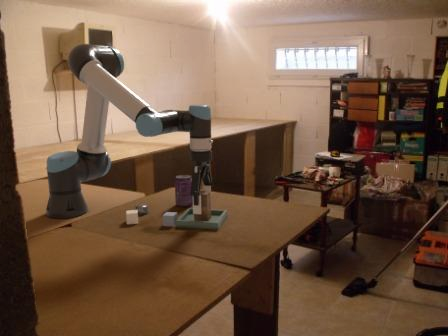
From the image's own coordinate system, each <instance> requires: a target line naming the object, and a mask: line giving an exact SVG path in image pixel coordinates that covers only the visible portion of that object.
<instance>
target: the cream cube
mask: <svg viewBox="0 0 448 336" xmlns="http://www.w3.org/2000/svg"><path fill="white" fill-rule="evenodd" d="M125 213H126V214H125V217H126V219H125V220H126V225H134V224H135V225H136V224H139V215H138V210H135V209H131V210H130V209H129V210H126V211H125Z"/></svg>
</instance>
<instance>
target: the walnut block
mask: <svg viewBox="0 0 448 336" xmlns="http://www.w3.org/2000/svg"><path fill="white" fill-rule="evenodd" d="M211 191H212V190H211ZM211 191H203V190H201V191H200V195H201V214H194V221H209V220H210V219H211V209H212V192H211Z"/></svg>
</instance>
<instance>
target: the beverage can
mask: <svg viewBox="0 0 448 336" xmlns="http://www.w3.org/2000/svg"><path fill="white" fill-rule="evenodd" d="M174 179H175V180H174V198H175V200H174V201H175V205H177V206H178V207H182V208H184V207H190V206H192V205H193V196H190V193H191V183H192V175H189V174H179V175H178V174H177V175H176V176H175V178H174Z"/></svg>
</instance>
